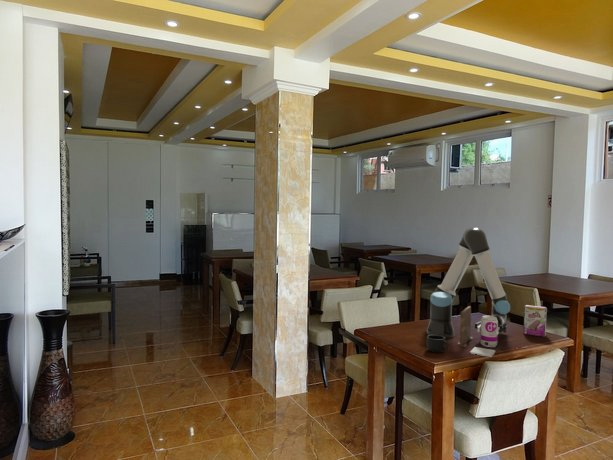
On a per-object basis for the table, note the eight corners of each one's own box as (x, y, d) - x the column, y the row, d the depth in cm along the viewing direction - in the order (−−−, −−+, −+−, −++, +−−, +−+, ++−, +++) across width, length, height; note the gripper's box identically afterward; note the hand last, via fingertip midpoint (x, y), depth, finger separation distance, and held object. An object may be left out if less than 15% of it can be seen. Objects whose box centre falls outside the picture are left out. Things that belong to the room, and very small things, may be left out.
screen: (457, 346, 233) (457, 311, 233) (465, 338, 248) (466, 305, 248) (465, 347, 231) (465, 312, 230) (472, 339, 246) (473, 306, 246)
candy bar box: (523, 334, 257) (524, 306, 256) (524, 332, 261) (525, 304, 260) (545, 337, 251) (546, 308, 250) (546, 335, 255) (546, 306, 254)
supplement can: (498, 348, 230) (499, 319, 230) (481, 347, 232) (482, 318, 231) (495, 343, 238) (496, 315, 238) (479, 342, 240) (479, 314, 239)
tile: (470, 353, 221) (470, 351, 221) (474, 348, 230) (474, 346, 230) (491, 357, 216) (491, 355, 216) (495, 351, 224) (495, 350, 224)
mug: (422, 350, 226) (422, 336, 226) (434, 347, 231) (435, 333, 231) (441, 356, 216) (441, 342, 216) (453, 353, 221) (454, 339, 221)
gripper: (515, 331, 245) (509, 341, 225) (475, 326, 256) (466, 335, 237) (516, 318, 244) (509, 326, 225) (475, 313, 256) (466, 321, 236)
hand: (487, 331), depth 231 cm, fingers closed on supplement can, 8 cm apart
